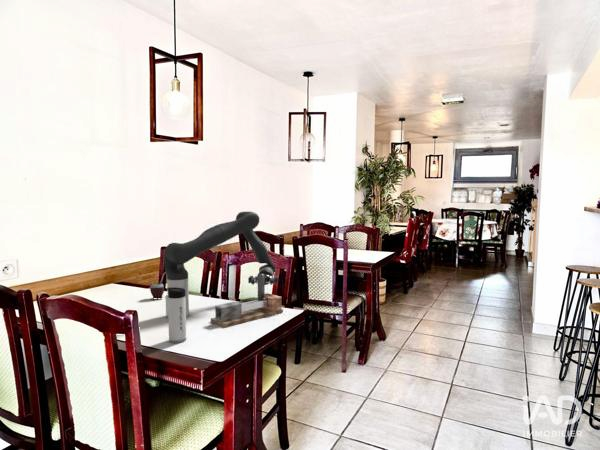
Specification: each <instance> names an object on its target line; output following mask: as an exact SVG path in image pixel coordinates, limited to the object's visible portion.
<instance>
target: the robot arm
mask: <svg viewBox="0 0 600 450" xmlns="http://www.w3.org/2000/svg"><path fill="white" fill-rule="evenodd" d="M259 223H260V216H259V215H258V213H256V212H254V211H240V212H238V214H237V215H236V217H235V220H232V221H228V222H224V223H220V224H216V225H214V226H212V227H211V226H210V227H209V228H207V229H206V230H204V231H203V232H202V233H201V234H199V235H198V236H197V237H195V238H194V239H192V240H190V241H187V242H183V243H180V242H171V243H168V244H167V245H166V247H165V249H164V252H163V260H164V271H165V272H166V273H165V272H164V273H165V275H166V282H167V283H166V285H167V286H166V290H167V288H168V287H170V288H173V287H177V288H183V289H185V296H186V297H185V298H186V317H188V316H189V315H190V309H189V308H190V302H189V301H190V300H189V295H190V294H189V293H190V292H189V272H188V270H187V269H186V267H185V264H186V263H187V262H189V261H191V260H193V259H194V258H195V257H197V256H199V255H200V254H202V253H204V252H206V251H209V250H212V248H215V247H218V246H220V245H222V244H223V243H225V242H228V241H229V240H231V239H232V238H235V237H236V236H238V235H241V234H243V236H244V238H245V239H246V241H247V242H248V243H249V246H250V247H251V250H252V252H253V255H255V258H256V261H257V262H258V263H259V264H264V265H262V266H259V269H258V273H257V274H264V278H265V286H267V285H273V284H275V283H276V284H278V283H279V275H274V272H275V266H274V264H273V262H272V260H273V259H272V257H271V256H270V254H269V251H268V249H267V247H266V245H265V244H264V242H263V241H262V240H261V239H260V237H258V235H257V234H256V232H255V231H254V230H255V229H256V228H257V227H258V226H259ZM270 257H271V258H270ZM271 259H272V260H271ZM247 282H248V284H251V285H253V286H254V285H255V284H256V285H258V275H256V276H253V275H249V277H248V281H247ZM165 317H167V318H168V290H167V293H166V295H165Z"/></svg>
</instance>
